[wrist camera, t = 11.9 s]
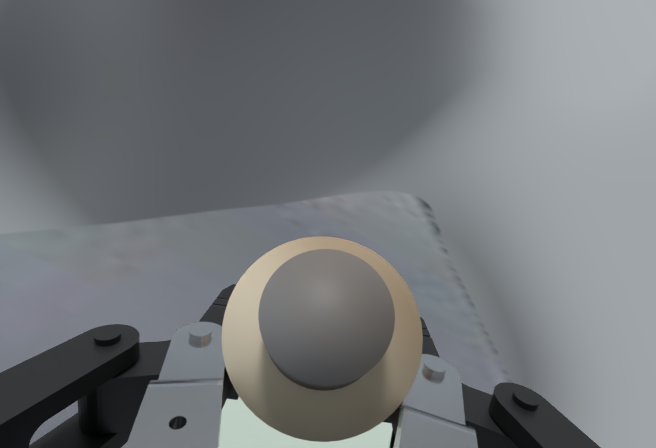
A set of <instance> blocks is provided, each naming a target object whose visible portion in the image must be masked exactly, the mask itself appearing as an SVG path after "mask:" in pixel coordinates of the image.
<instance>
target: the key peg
mask: <svg viewBox="0 0 656 448" xmlns="http://www.w3.org/2000/svg"><path fill="white" fill-rule="evenodd" d="M221 339H222V353H223V358H224V362H225V367H226V370H227V373H228V375H229V378H230V381H231V383H232V385H233V387H234V388H235V390H236V392H237V394H238V395H239V397H240V398H241V400H242V401H243V402H244V404H245V405H246V406H247V407H248V408H249V409H250V410H251V411H252V412H253V413H254V414H255V416H257V417H258V418H259V419H260V420H262V421H263V422H264V423H266V424H267V425H268V426H270V427H272V428H274V429H275V430H277V431H279V432H281V433H283V434H286V435H289V436H291V437H294V438H297V439H302V440H307V441H316V442H330V441H340V440H344V439H348V438H352V437H355V436H358V435H360V434H362V433H365V432H367V431H369V430H371V429H372V428H374V427H376V426H377V425H379V424H380V423H382V422H383V421H384V420H385V419H386V418H388V417H389V416H390V415H391V414H392V413H393V412H394V411H395V410H396V409H397V408H398V406H399V405H400V404H401V403H402V402H403V400H404V399H405V397H406V396H407V394H408V392H409V391H410V389H411V387H412V385H413V383H414V380H415V378H416V375H417V372H418V369H419V366H420V361H421V355H422V343H423V335H422V324H421V320H420V315H419V311H418V308H417V305H416V302H415V299H414V297H413V295H412V293H411V291H410V289H409V287H408V286H407V284H406V283H405V281H404V280H403V278H402V277H401V276H400V275H399V273H398V272H397V271H396V270H395V269H394V268H393V267H392V266H391V265H390V264H389V263H388V262H387V261H386V260H385V259H383V258H382V257H381V256H379V255H378V254H377V253H375V252H373V251H372V250H370V249H368V248H367V247H364V246H362V245H360V244H358V243H355V242H352V241H349V240H345V239H340V238H335V237H323V236H322V237H308V238H302V239H297V240H294V241H290V242H287V243H285V244H283V245H280V246H278V247H276V248H274V249H273V250H271V251H269V252H267V253H266V254H265V255H263V256H262V257H261V258H259V259H258V260H257V261H256V262H255V263H254V264H253V265H252V266H250V267H249V269H248V270H247V271H246V272H245V273H244V275H243V276H242V277H241V278H240V280H239V282H238V283H237V285H236V286H235V288H234V290H233V292H232V294H231V296H230V298H229V301H228V304H227V307H226V310H225V314H224V319H223V324H222V338H221Z"/></svg>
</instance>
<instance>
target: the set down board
mask: <svg viewBox="0 0 656 448" xmlns="http://www.w3.org/2000/svg"><path fill="white" fill-rule="evenodd" d="M392 430H393V429H392V423H385V422H382V423H380V424H379V425H377V426H376V427H374V428H372V429H371V430H369V431H367V432H365V433H362V434H360V435H358V436H355V437H352V438H348V439H344V440H340V441H330V442H316V441H307V440H302V439H297V438H294V437H291V436H289V435H286V434H283V433H281V432H279V431H277V430H275V429H274V428H272V427H270V426H268V425H267V424H266V423H264V422H263V421H262V420H260V419H259V418H258V417H257V416H255V414H254V413H253V412H252V411H251V410H250V409H249V408H248V407H247V406H246V405H245V404H244V402H243V401H242V400H241V398H240V397H239V398H238V400H233V399H227V400H226V402H225V404H224V407H223V408H222V411H221V424H220V436H219V448H389V443H390V438H391V434H392Z"/></svg>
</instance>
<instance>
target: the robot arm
mask: <svg viewBox="0 0 656 448" xmlns="http://www.w3.org/2000/svg"><path fill="white" fill-rule="evenodd" d="M235 286H236V285H235V284H233V285H231V286H229V287H227V288H225V289H223V290H222V292H221V293H220V294H219V296H218V297H217V299H216V300H215V301H214V302H213V304H212V305H211V306H210V307H209V309H208V310H207V311H206V313H205V314H204V315H203V317H202V318H201V319H200V321H199V322H194V323H190V324H187V325H184V326H182V327H180V328H179V329H178V330H176V331H175V333H174V334H173V337H172V340H169V341H161V342H143V343H139V332H138V331H137V330H136V329H135V328H133V327H131V326H128V325H120V324H113V325H105V326H101V327H97V328H94V329H91V330H89V331H87V332H85V333H83V334H80V335H78V336H76V337H74V338H72V339H70V340H68V341H66V342H64V343H62V344H60V345H58V346H55V347H53V348H51V349H49V350H47V351H45V352H43V353H41V354H39V355H37V356H35V357H33V358H30V359H28V360H26V361H24V362H22V363H20V364H18V365H16V366H14V367H12V368H10V369H8V370H5V371H3V372H1V373H0V448H121V447H122V446H123V445H124V444H125V443H126V442H127V444H126V447H125V448H219V436H220V424H221V411H222V408H223V407H224V404H225V402H226V400H227V399H233V400H238V398H239V395H238V394H237V392H236V390H235V388H234V387H233V385H232V383H231V381H230V378H229V375H228V373H227V370H226V367H225V362H224V358H223V353H222V339H221V338H222V324H223V319H224V314H225V310H226V307H227V304H228V301H229V298H230V296H231V294H232V292H233V290H234V288H235ZM420 320H421V324H422V335H423V343H422V355H421V361H420V366H419V369H418V372H417V375H416V378H415V380H414V383H413V385H412V387H411V389H410V391H409V392H408V394H407V396H406V397H405V399H404V400H403V402H402V403H401V404H400V405H399V406H398V408H397V409H396V410H395V411H394V412H393V413H392V414H391V415H390V416H389V417H388V418H386V419H385V420H384V421H383V422H385V423H392V429H393V430H392V434H391V438H390V443H389V448H600V447H599V446H598V445H597V444H596V443H595V442H593V441H592V440H591V439H590V438H589V437H588V436H587V435H586V434H584V433H583V432H582V431H581V430H580V429H578V427H576V426H575V425H574V424H573V423H572V422H570V421H569V420H568V419H567V418H566V417H565V416H564V415H563V414H562V413H560V412H559V411H558V410H557V409H556V408H555V407H554V406H552V405H551V404H550V403H549V402H548V401H547V400H545V399H544V398H543V397H542V396H540V395H539V394H537V393H536V392H534V391H532V390H531V389H528V388H526V387H524V386H521V385H518V384H514V383H500V384H498V385H497V386H496V387H495V389H494V392H493V395H490V394H488V393H485V392H482V391H479V390H476V389H474V388H471V387H469V386H466V385H464V384H463V383H461V376H460V374H459V372H458V371H457V369H456V368H455V367H454V366H453V365H451V364H450V363H449V362H447V361H445V360H444V359H441V358H440V357H439V355H438V352H437V350H436V348H435V345H434V343H433V341H432V338H430V334H429V331H428V330H427V327H426V324H425V322H424V320H423V319H422V318H421V317H420ZM77 400H78V413H77V414H75V415H74V416H72V417H71V418H69V419H68V420H66V421H65V422H63V423H62V424H60V425H59V426H57V427H56V428H54V429H53V430H51V431H50V432H49V433H47V434H46V435H44V436H43V437H41V438H40V439H38V440H37V441H35V442H34V443H32V444H31V445H29V443H30V440H31V438H32V436H33V434H34V433H35V431H36V430H37V429H38V427H39V426H40V425H41V424H43V423H44V422H45V421H46V420H48V419H49V418H51V417H52V416H54V415H55V414H57V413H58V412H60V411H62V410H63V409H65V408H66V407H68V406H69V405H71V404H72V403H74V402H75V401H77Z"/></svg>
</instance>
